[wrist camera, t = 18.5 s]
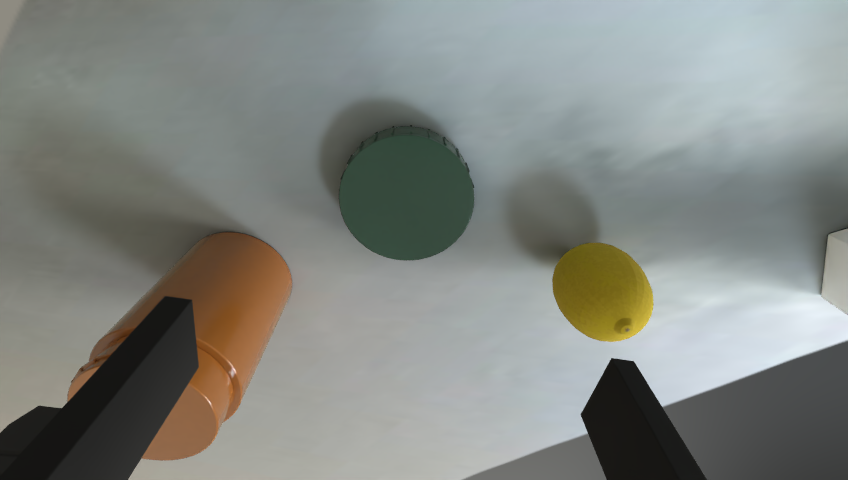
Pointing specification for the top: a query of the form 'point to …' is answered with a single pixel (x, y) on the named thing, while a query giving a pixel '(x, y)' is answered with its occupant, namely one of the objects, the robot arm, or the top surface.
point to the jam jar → (210, 333)
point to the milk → (836, 271)
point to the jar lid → (406, 193)
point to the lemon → (602, 292)
